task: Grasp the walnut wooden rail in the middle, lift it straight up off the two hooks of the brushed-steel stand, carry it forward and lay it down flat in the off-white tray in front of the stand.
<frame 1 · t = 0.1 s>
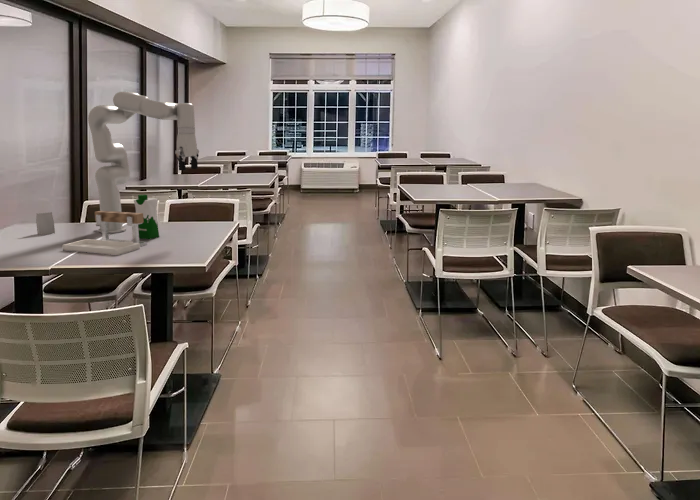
hand: (188, 169, 275), 31 cm above the table, fingers open, 9 cm apart
grey block: (46, 234, 288), on the table
steel stand: (121, 244, 263), on the table
off-white tray: (101, 249, 252), on the table
walnut rail: (119, 221, 261), point 10 cm above the table, touching steel stand
milk carton: (148, 238, 279), on the table
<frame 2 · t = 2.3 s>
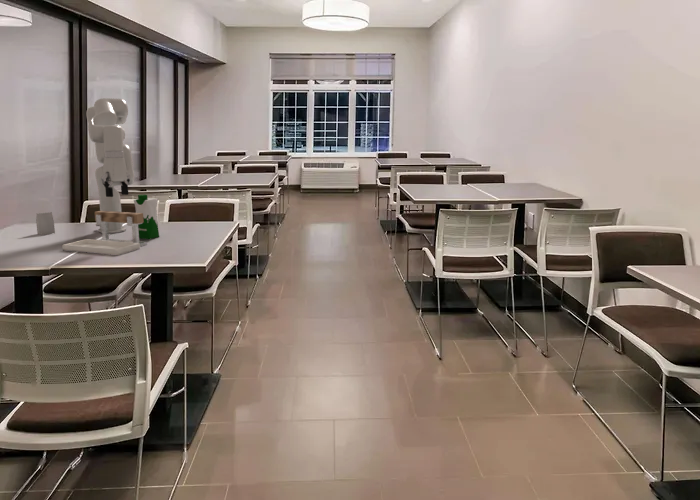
hand: (117, 195, 258), 21 cm above the table, fingers open, 9 cm apart
nothing on the table moved.
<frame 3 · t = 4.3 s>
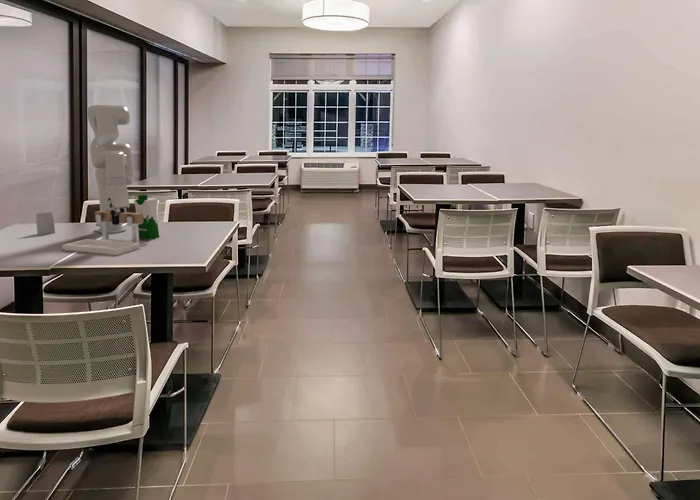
hand: (119, 223, 261), 9 cm above the table, fingers closed on walnut rail, 4 cm apart
walnut rail: (119, 221, 261), point 10 cm above the table, touching gripper, steel stand
everything else where it was.
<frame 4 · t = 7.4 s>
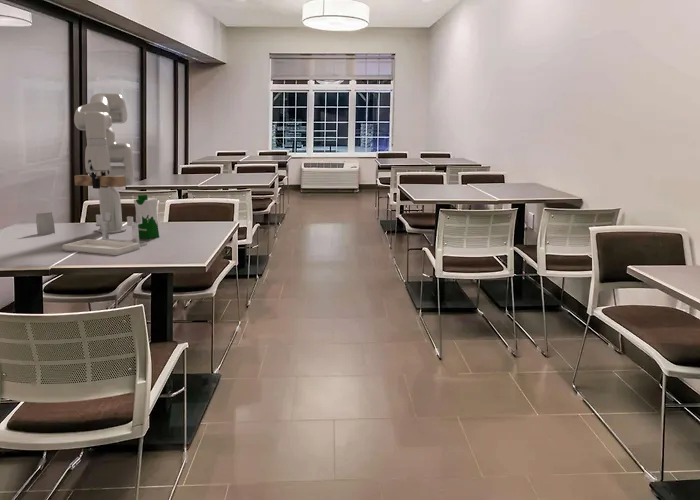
hand: (100, 187, 248), 26 cm above the table, fingers closed on walnut rail, 4 cm apart
walnut rail: (100, 185, 248), point 27 cm above the table, touching gripper
everything else where it was.
when the fingers open (2 cm above the table, at t = 10.8 s): walnut rail drops 2 cm, resting on off-white tray.
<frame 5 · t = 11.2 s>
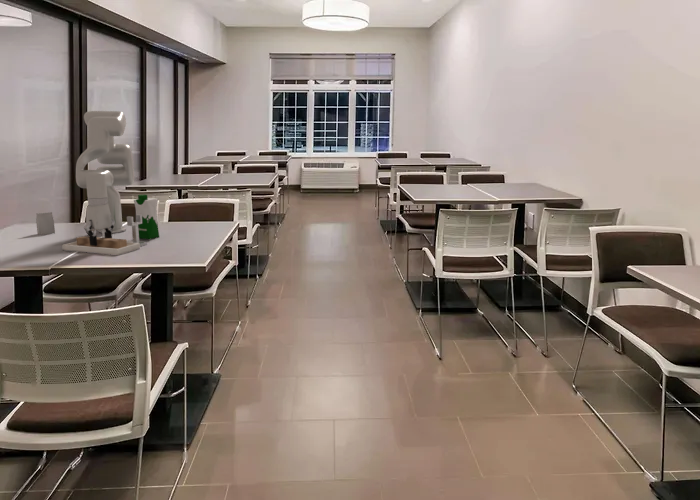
hand: (101, 243, 251), 3 cm above the table, fingers open, 8 cm apart
walnut rail: (101, 248, 252), point 1 cm above the table, touching off-white tray
everything else where it was.
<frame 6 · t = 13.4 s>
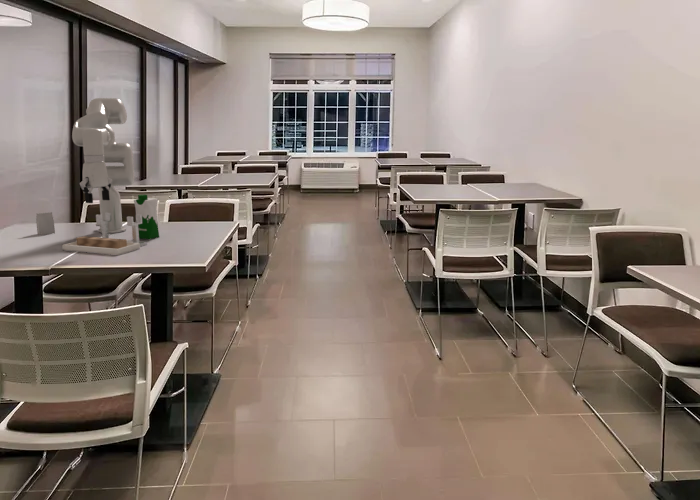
hand: (97, 201, 247), 20 cm above the table, fingers open, 9 cm apart
nothing on the table moved.
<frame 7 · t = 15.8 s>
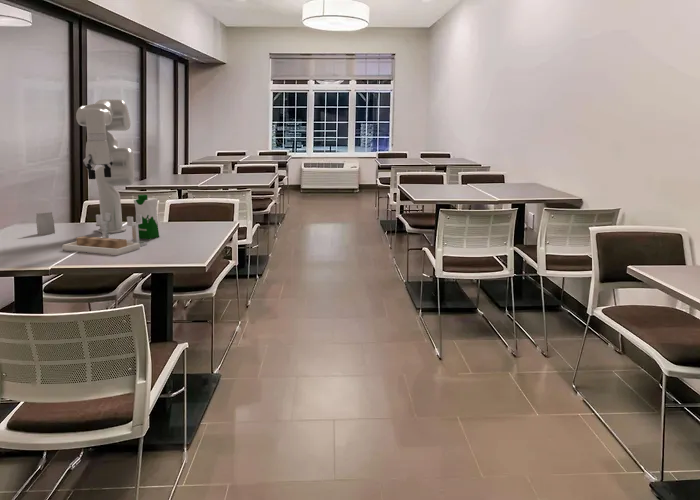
hand: (100, 178, 262), 28 cm above the table, fingers open, 9 cm apart
nothing on the table moved.
at the end: walnut rail inside the target area on the off-white tray (0.2 cm from its centre), point 0.6 cm above the off-white tray's base; walnut rail tilted 0°; the gripper is holding nothing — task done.
